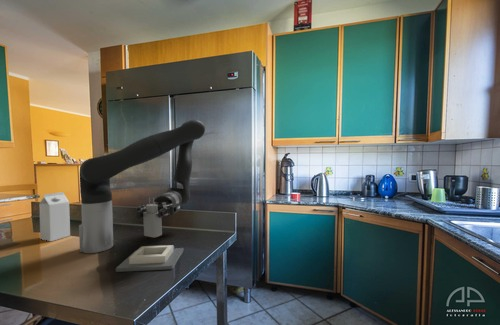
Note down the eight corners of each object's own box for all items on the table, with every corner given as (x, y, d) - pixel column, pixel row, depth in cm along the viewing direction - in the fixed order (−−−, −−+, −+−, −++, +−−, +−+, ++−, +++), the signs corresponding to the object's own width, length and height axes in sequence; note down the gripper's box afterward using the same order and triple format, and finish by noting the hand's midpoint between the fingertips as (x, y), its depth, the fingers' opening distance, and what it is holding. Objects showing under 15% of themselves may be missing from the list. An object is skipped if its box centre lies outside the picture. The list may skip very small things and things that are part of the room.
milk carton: (40, 239, 92) (38, 194, 91) (60, 234, 98) (59, 191, 98) (50, 241, 89) (48, 194, 89) (70, 236, 95) (69, 192, 95)
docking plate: (115, 271, 63) (115, 261, 63) (136, 252, 76) (136, 244, 76) (172, 269, 64) (172, 258, 64) (183, 250, 77) (183, 242, 77)
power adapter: (151, 232, 73) (149, 196, 73) (163, 234, 71) (161, 197, 70) (143, 235, 70) (141, 197, 70) (155, 237, 68) (153, 198, 68)
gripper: (147, 194, 84) (124, 203, 67) (185, 193, 85) (172, 202, 68) (147, 214, 84) (125, 228, 67) (186, 212, 85) (173, 226, 68)
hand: (149, 215), depth 68 cm, fingers closed on power adapter, 5 cm apart
